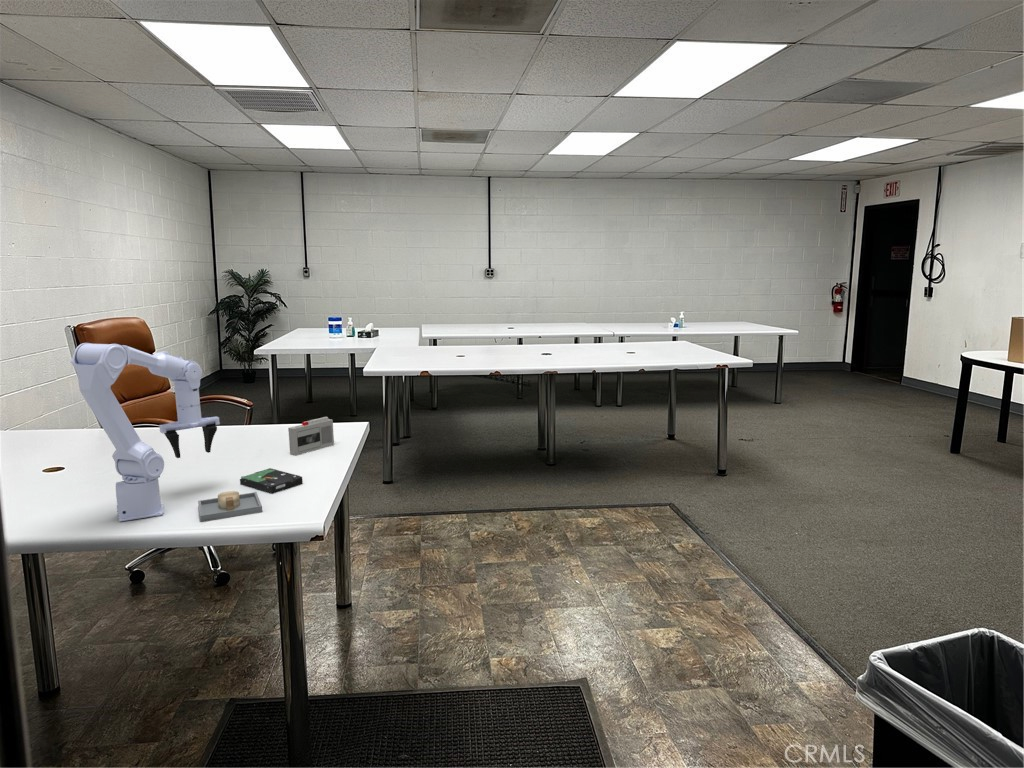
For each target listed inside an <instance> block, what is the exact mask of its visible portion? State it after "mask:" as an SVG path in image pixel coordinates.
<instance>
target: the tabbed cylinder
mask: <svg viewBox="0 0 1024 768" xmlns="http://www.w3.org/2000/svg"><path fill="white" fill-rule="evenodd" d="M239 495H240V492H239V491H235V490H229V491H222V492H220V493H218V495H217V498H218V506H219V508H220V509H227V511H229V510H234V508H235V507H238V506H239V505H240V499H239Z"/></svg>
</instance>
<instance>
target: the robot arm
mask: <svg viewBox="0 0 1024 768" xmlns="http://www.w3.org/2000/svg"><path fill="white" fill-rule="evenodd" d="M70 363H71V365H72V366H73V368H74V370H75V371H76V374H77V381H78V387H79V392H80V394H81V395H82V396H83V397H82V398H84V401H85V402H86V404H87V405H88V407H89V408H90V410H91V411H92V413H93V415H94V416H95V418H96V419H97V421H98V423H99V424H100V426H101V427H102V429H103V431H104V432H105V434H106V436H107V437H108V439H109V440H110V442H111V444H112V445H113V446H114V448H115V450H114V452H113V454H112V455H111V457H112V459H113V460H114V467H115V470H116V472H117V473H118V475H119V476H121V478H122V481H116V482H115V497H116V512H117V515H118V522H125V521H126V522H127V521H132V520H139V519H145V518H153V517H158V516H163V515H164V503H162V501H161V492H160V484H159V478H161V475H162V473H163V471H164V469H165V468H164V467H165V461H164V458H163V456H162V455H161V454H160V453H158V452H156V451H155V449H154V448H153V447H152V446H151V445H149V444H148V443H146V442H144V441H143V440H141V437H140V436H139V434H138V433H137V431H136V430H135V428H134V426H133V425H132V423H131V421H130V420H129V417H128V416H127V414H126V413H125V411H124V408H122V406H121V403H120V402H119V401H118V399H117V397H116V396H115V394H114V392H113V391H112V388H111V387H112V385H114V384H115V383H116V381H117V379H118V378H119V376H120V374H121V373H122V372H123V370H124V369H125V367H126V366H128V365H136V366H140V367H143V368H147V369H148V370H149V372H150V373H151V374H152V375H154V376H157V377H158V376H159V377H161V378H162V377H163V378H166V379H169V380H170V381H171V382H173V387H174V396H175V405H176V407H175V408H176V413H177V414H176V416H177V421H173V422H169V423H164V424H159V425H158V426H159V433H160V434H163V435H164V436H165V437H166V439H167V440H168V442H169V443H170V446H171V448H172V451H173V452H174V453H173V454H174V456H175V458H176V459H181V451H180V434H178V432H177V431H184V430H188V429H195V428H196V429H197V428H200V427H201V428H202V433H203V438H204V450H205V451H204V452H206V453H208V454H209V453H211V451H212V443H213V440H214V437H215V435H216V432H217V430H218V426H219V425H220V424H221V422H220V417H219V416H211V417H210V416H209V417H202V411H201V401H200V400H201V399H200V389H199V388H200V386H201V378H202V376H203V369H202V368H201V366H200V364H198V362H197V361H194V360H185V359H184V358H183V356H173V355H171V354H170V352H169V351H163V350H162V351H160V352H155V353H154V354H150V353H148V352H145V351H142V350H140V349H137V348H134V347H131V346H128V345H124V344H122V345H121V344H118V343H110V344H109V343H90V342H83V343H80V344H79V345H78V346H77V347H76V348H75V349H74V352H73V355H72V358H71V360H70ZM217 425H218V426H217Z"/></svg>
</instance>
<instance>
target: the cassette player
mask: <svg viewBox="0 0 1024 768" xmlns="http://www.w3.org/2000/svg"><path fill="white" fill-rule="evenodd" d="M288 442H289V444H288V445H289V455H290V456H293V457H298V456H299V455H304V454H307V452H308V453H310V452H311V453H312V452H314V451H318V450H322V449H326V448H329V447H332V446H335V436H334V421H333V419H330V418H329V417H328V416H323V417H320V418H315V419H314V418H313V419H309V420H307V421H302V422H301V424H299V425H295V426H290V427H288Z"/></svg>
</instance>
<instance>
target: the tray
mask: <svg viewBox="0 0 1024 768" xmlns="http://www.w3.org/2000/svg"><path fill="white" fill-rule="evenodd" d="M239 499H240V505H239V506H238V507H235V508H234V510H229V511H227V509H220V508H219V506H218V497H215V498H208V499H202V500H201V499H200V500H198V502H197V504H198V510H199V511H198V512H199V519H200V520H199V521H200V523H202V522H209V521H210V522H211V521H215V520H222V519H228V518H233V517H240V516H246V515H253V514H257V513H258V514H259V513H262V512H263V506H262V502H261V500H260V497H259V495H258V492H257V491H254V492H248V493H241V494H240V493H239Z"/></svg>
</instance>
